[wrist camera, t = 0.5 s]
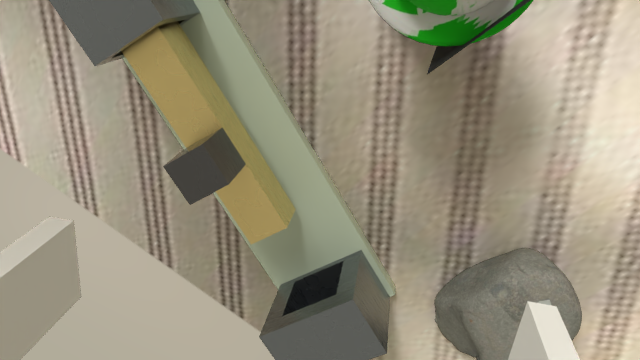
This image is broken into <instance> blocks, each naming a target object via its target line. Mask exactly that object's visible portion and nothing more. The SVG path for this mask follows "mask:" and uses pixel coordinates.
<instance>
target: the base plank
mask: <svg viewBox="0 0 640 360" xmlns="http://www.w3.org/2000/svg"><path fill="white" fill-rule="evenodd" d="M193 1H194V2H195V4H196V6H197V7H198V9H199V11H200V13H199V14H197V15H196V16H194V17H193V18H191V19H190V20H188V21H187V22H186V23H184V24H183V25H181V28H182V29H183V31H184V32H185V34H186V36H187V37H188V39H189V40H190V42H191V44H192V45H193V47H194V48H195V50H196V52H197V53H198V55H199V56H200V58H201V59H202V61H203V63H204V64H205V66H206V67H207V69H208V71H209V72H210V74H211V75H212V77H213V78H214V80H215V82H216V83H217V85H218V86H219V88H220V90H221V91H222V93H223V94H224V96H225V98H226V99H227V101H228V102H229V104H230V105H231V107H232V109H233V110H234V112H235V113H236V115H237V117H238V118H239V120H240V121H241V123H242V124H243V126H244V128H245V129H246V131H247V132H248V134H249V136H250V137H251V139H252V140H253V142H254V144H255V145H256V147H257V148H258V150H259V151H260V153H261V155H262V156H263V158H264V159H265V161H266V163H267V164H268V166H269V167H270V169H271V170H272V172H273V174H274V175H275V177H276V178H277V180H278V182H279V183H280V185H281V186H282V188H283V190H284V191H285V193H286V194H287V196H288V197H289V199H290V201H291V202H292V204H293V205H294V207H295V209H296V210H295V212H294V214H293V216H292V218H291V220H290V223H289V225H288V227H287V228H286V229H283V230H281V231H279V232H277V233H275V234H273V235H271V236H269V237H266V238H264V239H262V240H260V241H258V242H256V243H254V244H252V245H251V244H250V242H249V241H248V239H247V238H246V236H245V235H244V233H243V232H242V230H241V229H240V227H239V226H238V224H237V223H236V221H235V220H234V218H233V217H232V215H231V214H230V212H229V211H228V209H227V208H226V206H225V205H224V203H223V202H222V200H221V199H220V197H219V196H218V195H217V193H216V192H214V193H213V194H214V195H215V197H216V198H217V200H218V201H219V203H220V204H221V206H222V207H223V209H224V210H225V212H226V213H227V215H228V216H229V218H230V219H231V221H232V222H233V224H234V225H235V227H236V228H237V230H238V231H239V233H240V234H241V235H242V237H243V238H244V240H245V241H246V243H247V244H248V246H249V247H250V249H251V250H252V252H253V253H254V255H255V256H256V258H257V259H258V261H259V262H260V264H261V265H262V267H263V268H264V270H265V271H266V273H267V274H268V276H269V277H270V279H271V280H272V282H273V283H274V284H275V286H276V287H277V289H278V290H279V287H280V285H281V284H283V283H285V282H288V281H290V280H292V279H295V278H297V277H299V276H302V275H304V274H306V273H308V272H311V271H313V270H315V269H318V268H320V267H322V266H325V265H327V264H329V263H332V262H334V261H336V260H339V259H341V258H343V257H346V256H348V255H350V254H353V253H355V252H357V251H360V250H362V252H363V253H364V255H365V257H366V258H367V260H368V262H369V263H370V265H371V267H372V268H373V270H374V271H375V273H376V275H377V276H378V278H379V280H380V281H381V283H382V285H383V286H384V288H385V290H386V291H387V293H388V295H389V296H390V297H391V296H393V295H395V285H394V283H393V282H392V280H391V278H390V277H389V275H388V273H387V272H386V270H385V268H384V267H383V265H382V263H381V262H380V260H379V258H378V257H377V255H376V253H375V252H374V250H373V248H372V247H371V245H370V243H369V242H368V240H367V238H366V237H365V235H364V233H363V232H362V230H361V228H360V227H359V225H358V223H357V222H356V220H355V218H354V217H353V215H352V213H351V212H350V210H349V208H348V207H347V205H346V203H345V202H344V200H343V198H342V197H341V195H340V193H339V191H338V190H337V188H336V186H335V185H334V183H333V181H332V180H331V178H330V176H329V175H328V173H327V171H326V170H325V168H324V166H323V165H322V163H321V161H320V160H319V158H318V156H317V155H316V153H315V151H314V150H313V148H312V146H311V145H310V143H309V141H308V140H307V138H306V136H305V135H304V133H303V131H302V130H301V128H300V126H299V125H298V123H297V121H296V120H295V118H294V116H293V115H292V113H291V111H290V110H289V108H288V106H287V105H286V103H285V101H284V100H283V98H282V96H281V95H280V93H279V91H278V90H277V88H276V86H275V85H274V83H273V81H272V80H271V78H270V76H269V75H268V73H267V71H266V70H265V68H264V66H263V65H262V63H261V61H260V60H259V58H258V56H257V54H256V53H255V51H254V49H253V48H252V46H251V44H250V43H249V41H248V39H247V38H246V36H245V34H244V33H243V31H242V29H241V28H240V26H239V24H238V23H237V21H236V19H235V18H234V16H233V14H232V13H231V11H230V9H229V8H228V6H227V4H226V3H225V1H224V0H193ZM122 59H123V60H124V62H125V63H126V65H127V66H128V68H129V69H130V71H131V72H132V74H133V75H134V77H135V78H136V80H137V81H138V83H139V84H140V86H141V87H142V89H143V90H144V91H145V93H146V94H147V96H148V97H149V99H150V100H151V102H152V103H153V105H154V106H155V108H156V109H157V111H158V112H159V114H160V115H161V117H162V118H163V120H164V121H165V123H166V124H167V126H168V127H169V129H170V130H171V132H172V133H173V135H174V136H175V137H176V139H177V140H178V142H179V143H180V145H181V146H182V148H183V149H186V147H185V145H184V144H183V142H182V141H181V139H180V138H179V136H178V135H177V133H176V132H175V130H174V129H173V127H172V126H171V124H170V123H169V122H168V120H167V119H166V117H165V116H164V114H163V113H162V111H161V110H160V108H159V107H158V105H157V104H156V102H155V101H154V99H153V98H152V96H151V95H150V93H149V92H148V90H147V89H146V87H145V86H144V84H143V83H142V81H141V80H140V78H139V77H138V75H137V74H136V72H135V71H134V69H133V68H132V66H131V65H130V63H129V62H128V60H127V59H126V57H124V58H122Z"/></svg>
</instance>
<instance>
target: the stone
mask: <svg viewBox="0 0 640 360" xmlns="http://www.w3.org/2000/svg"><path fill="white" fill-rule="evenodd" d="M527 301H529V302H535V303H541V304H546V305H552V306H557V309H558V311H559V313H560V315H561V318H562V320H563V322H564V325H565V327H566V329H567V331H568V334H569V336H570V338H571V340H573V339H574V337H575V336H576V335H577V333H578V331H579V329H580V325H581V320H582V311H581V307H580V303H579V300H578V297H577V295H576V293H575V291H574V289H573V287H572V285H571V283H570V281H569V280H568V278H567V277H566V276H565V274H564V273H563V272H562V271H561V270H560V269H559V268H558V267H557V266H556V265H555V264H554V263H553V262H552V261H550V260H549V259H548V258H547V257H546V256H544V255H543V254H542V253H540V252H538V251H536V250H534V249H530V248H521V249H517V250H514V251H511V252H509V253H506V254H503V255H500V256H497V257H494V258H491V259H489V260H486V261H483V262H481V263H479V264H476V265H474V266H472V267H470V268H468V269H466V270H465V271H463V272H461V273H460V274H458V275H457V276H456V277H454V278H453V279H452V280H451V281H450V282H448V283H447V284H446V285H445V286H444V287H443V289H442V290H441V291H440V292H439V293H438V294H437V296H436V298H435V302H434V304H435V308H436V310H435V312H436V318H435V321H436V320H437V321H436V323H438V326H439V328H440V330H441V332H442V334H443V335H444V336H445V337H446V338H447V339H448V340H449V341H450V342H452V344H453V345H454V346H455V347H456V348H457V349H458V350H460V351H461V352H463V353H466V354H469V355H471V356H472V357H477V360H508V358H509V355H510V352H511V349H512V346H513V343H514V340H515V337H516V334H517V331H518V328H519V325H520V322H521V319H522V316H523V313H524V310H525V307H526V304H527Z"/></svg>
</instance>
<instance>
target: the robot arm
mask: <svg viewBox="0 0 640 360" xmlns="http://www.w3.org/2000/svg"><path fill="white" fill-rule="evenodd" d="M79 298H81V290H80V279H79V269H78V259H77V248H76V239H75V228H74V221H73V220H68V219H62V218H56V217H51V216H50V217H48V218H47V219H45V220H44V221H42V222H41V223H40V224H38V225H37V226H35V227H34V228H33V229H31V230H30V231H28V232H27V233H26V234H24V235H23V236H22V237H20V238H19V239H17V240H16V241H14V242H13V243H12V244H10V245H9V246H8V247H6V248H5V249H3V250H2V251H0V360H21V359H22V358H23V356H25V354H26V353H27V352H28V351H29V350H30V349H31V348H32V347H33V346H34V345H35V344H36V343H37V342H38V341H39V340H40V339H41V338H42V337H43V336H44V335H45V334H46V332H48V330H50V329H51V328H52V326H53V325H54V324H55V323H56V322H57V321H58V320H59V319H60V318H61V317H62V316H63V315H64V314H65V313H66V312H67V311H68V310H69V309H70V308H71V307H72V306H73V305H74V304H75V303H76V302H77V301H78V300H79ZM508 360H580V358H579V356H578V354H577V352H576V349H575V347H574V345H573V343H572V340H571V338H570V336H569V334H568V331H567V329H566V327H565V325H564V322H563V320H562V318H561V315H560V313H559V311H558V309H557V306H552V305H546V304H541V303H535V302H529V301H527V304H526V307H525V310H524V313H523V316H522V319H521V322H520V325H519V328H518V331H517V334H516V337H515V340H514V343H513V346H512V349H511V352H510V355H509V358H508Z"/></svg>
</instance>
